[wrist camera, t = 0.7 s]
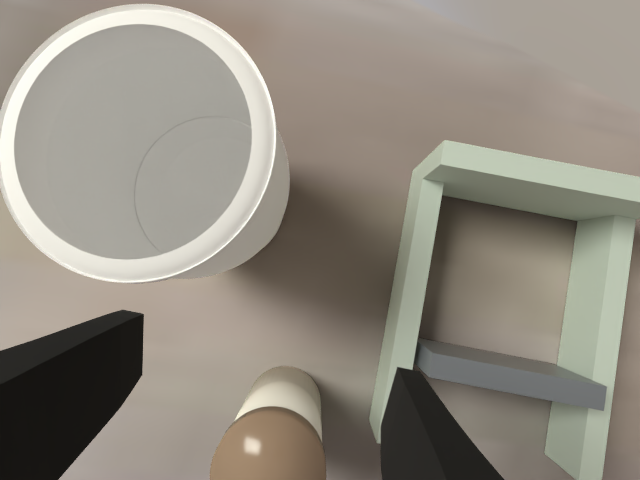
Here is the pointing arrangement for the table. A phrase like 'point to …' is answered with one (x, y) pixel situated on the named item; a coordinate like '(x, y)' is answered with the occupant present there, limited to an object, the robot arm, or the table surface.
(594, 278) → the lane
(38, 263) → the table surface
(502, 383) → the plate
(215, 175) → the jar
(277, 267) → the table surface
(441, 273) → the table surface
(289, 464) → the spice jar
